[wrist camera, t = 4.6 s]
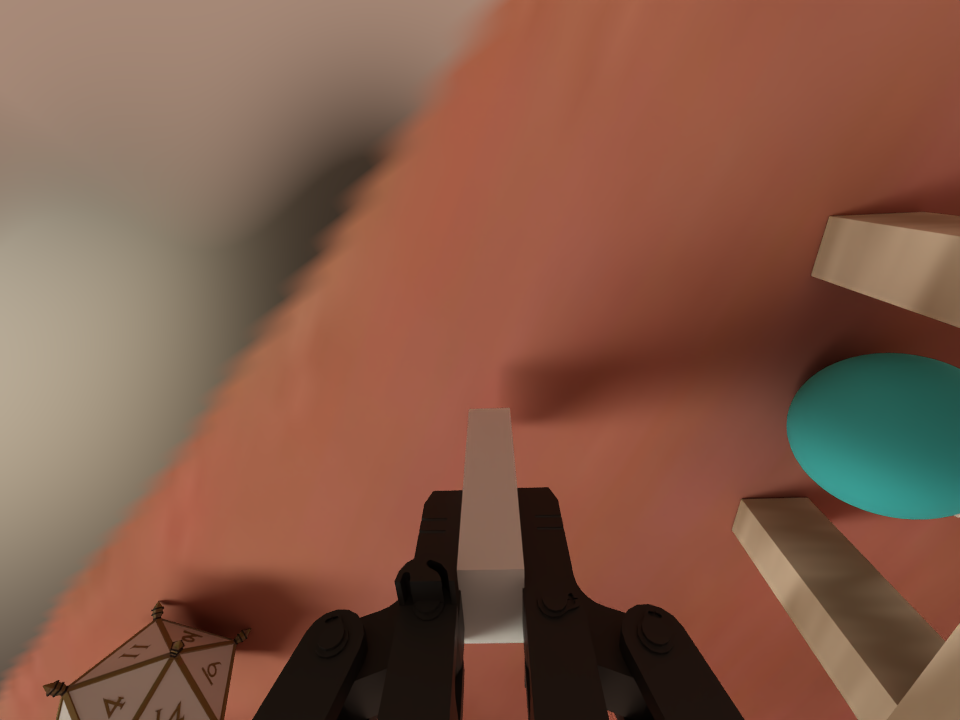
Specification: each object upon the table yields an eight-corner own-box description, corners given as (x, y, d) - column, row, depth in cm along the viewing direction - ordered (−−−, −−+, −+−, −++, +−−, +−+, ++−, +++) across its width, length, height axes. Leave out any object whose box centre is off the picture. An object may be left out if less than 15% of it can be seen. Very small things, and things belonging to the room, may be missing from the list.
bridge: (922, 211, 13) (1633, 291, 5) (794, 528, 20) (1018, 793, 11) (829, 216, 13) (1373, 301, 5) (731, 529, 20) (907, 793, 12)
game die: (229, 551, 27) (152, 627, 17) (295, 663, 27) (255, 800, 17) (76, 645, 24) (-118, 797, 14) (149, 769, 24) (6, 1001, 14)
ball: (949, 483, 15) (982, 592, 12) (776, 431, 19) (758, 503, 15) (1033, 353, 13) (1109, 436, 9) (818, 318, 16) (808, 369, 12)
